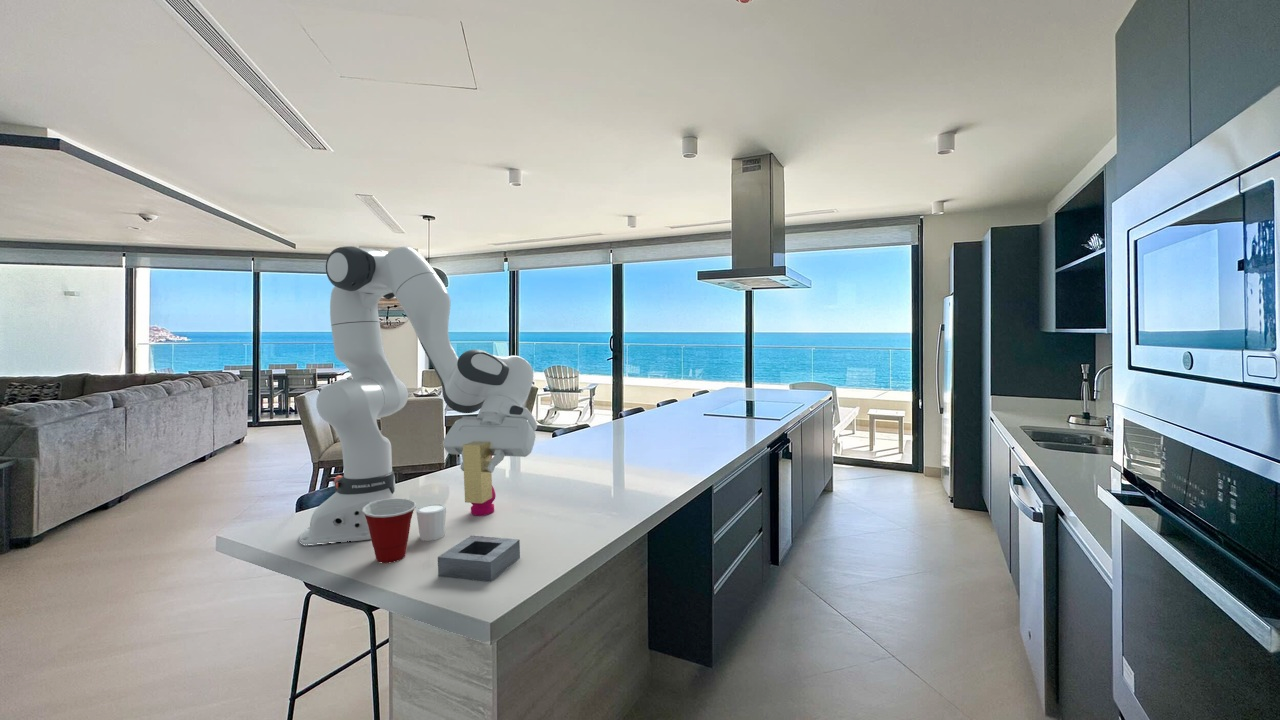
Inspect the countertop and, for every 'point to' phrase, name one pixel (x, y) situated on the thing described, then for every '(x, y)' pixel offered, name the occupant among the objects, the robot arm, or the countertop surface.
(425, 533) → the white cylinder
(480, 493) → the brass post
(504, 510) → the countertop surface
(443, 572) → the block
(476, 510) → the pepper mill
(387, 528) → the plastic cup
